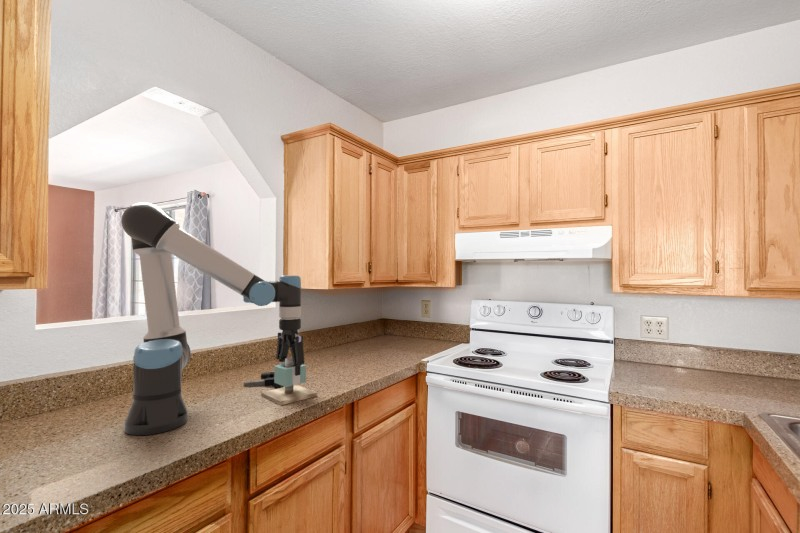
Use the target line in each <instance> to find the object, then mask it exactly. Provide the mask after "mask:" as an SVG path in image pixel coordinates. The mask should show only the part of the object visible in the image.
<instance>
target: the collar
mask: <svg viewBox="0 0 800 533" xmlns="http://www.w3.org/2000/svg"><path fill="white" fill-rule="evenodd" d="M273 367H274V368H273V370H274V371H273V372H274V383H277V384H279V385H281V387H289V386H293V385H292V367H291V368H285V364H281V365H280V364H277V365H274V366H273ZM306 382H307V365H306V364H303V365H301V366H300V384H299V385H302V384H304V383H306Z"/></svg>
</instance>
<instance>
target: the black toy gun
mask: <svg viewBox="0 0 800 533" xmlns="http://www.w3.org/2000/svg"><path fill="white" fill-rule="evenodd" d="M260 378H261V380H252V381H244V383H243V387H262V386H264V387H273V388H274V389H278V388H282V386H281V385H279V384H277V383H274V371H270V372H267V371H266V372H262V373H261V374H260ZM262 379H264V380H262Z"/></svg>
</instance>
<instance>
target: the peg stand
mask: <svg viewBox="0 0 800 533" xmlns="http://www.w3.org/2000/svg"><path fill="white" fill-rule="evenodd" d="M292 365H294V364H293V359H292V357H287V358H286V359H285V368H291V367H292ZM260 396H261V397H262V398H264V399H266V400H269V401H271V402H273V403H275V404H277V405H279V406H284V405H288V404H291V403H295V402H298V401H302V400H306V399H309V398H314V397H317V396H318V392H316V391H314V390H312V389H308V388H307V387H304V386H301V385H300V384H297V385H293V386H289V387H284V386H282V387H281V388H278V389H275V388H274V389H271V390H266V391H262V392H261V393H260Z"/></svg>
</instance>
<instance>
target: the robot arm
mask: <svg viewBox="0 0 800 533" xmlns="http://www.w3.org/2000/svg"><path fill="white" fill-rule="evenodd" d="M120 221H121V227H122V229H123V231H124V232H125V233H126V234H127V235H128V236H129V237H130V238H131V246H132V251H133V253H135V254H136V255H138V257H139V263H140V272H141V279H142V281H141V282H142V289H143V296H144V297H143V298H144V305H145V313H146V323H147V333H146V334H145V335H144V336H143V337H142V338H143V339H142V340H143V342H142V343H140V344H138V345H137V346H136V348H135V349H134V355H133V358H132V359H133V360H132V361H133V380H132V381H133V384H132V386H133V388H132V389H133V390H132V393H133V394H132V402H131V405H130V407H129V410H128V412H127V416H126V418H125V420H124V433H126V434H127V435H131V436H148V435H157V434H161V433H166V432H169V431H173V430H174V429H178V428H179V427H182V426H183V425H184V424H186V423H187V422H188V410H187V407H186V404H185V401H184V398H183V395H182V379H183V378H182V376H183V375H182V373H183V370H184V368H185V367H186V366H187V365H188V363H189V360H190V358H191V347H190V345H189V343H188V341H187V340H188V339H187V331H186V329H185V328H184V327H181V325H180V318H179V317H180V316H179V308H178V302H177V293H176V290H177V289H176V284H175V275H174V274H175V272H174V266H173V258H172V255H173V256H175V257H177V259H180V260H181V261H183V262H185V263H187V264H188V265H190V266H191V267H193V268H194V269H197V270H198V271H200V272H202V273H203V274H205V275H207V276H208V277H209V278H212V279H213V280H215V281H217V282H219V283H220V284H222V285H224V286H225V287H227V288H229V289H230V290H232V291H233V292H236V293H238V294H239V295H240V296H242V297H243V300H242V301H243V302H244V303H246V304H247V303H249V304H253V305H256V306H258V307H264V306H268V305H269V304H271V303H279V304H278V305H279V306H278V310H279V311H278V312H279V313H278V317H279V318H280V319H279V320H278V323H279V324H278V329H279V330H280V331H281V332H277V345H276V346H277V347H276V357H275V358H276V360H278V362H279V365H281V364H285V359H286V358H288V353H289V349H290V353H291V358H292V359H293V364H294V365H292V385H301V384H300V366H301V365H305V353H304V351H305V350H304V336H303V335H299V332H298V331H299V330H300V329H301V328H302V319H301V317H302V313H301V312H302V282H301V281H302V278H301V277H300V276H299V275H280V276H279V279H278V280H264V279H263V278H261V277H259V276H258V275H256V274H255V273H253V272H252V271H249V269H246V268H245V267H243V266H242V265H240V264H238V263H237V262H236V261H233V260H232V259H230V257H227V256H225V255H224V254H223V253H221V252H220V251H218V250H216V249H214V248H213V247H211V246H209V245H208V244H206V243H205V242H204V241H202V240H200V239H199V238H197V237H196V236H193V235H192V234H190V233H189V232H187V231H185V230H184V229H182V228H181V227H180V223H179V222H177V221H176V220H174V219H173V217H172V216H171V215H170V214H169V213H168V212H166V211H165V210H163V209H162V208H161V207H159V206H157V205H156V204H154V203H150V202H137V203H134V204H132V205H130V206H128V207H127V208H126V209H125V210H124V211H123V213H122V214H121V220H120Z"/></svg>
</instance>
